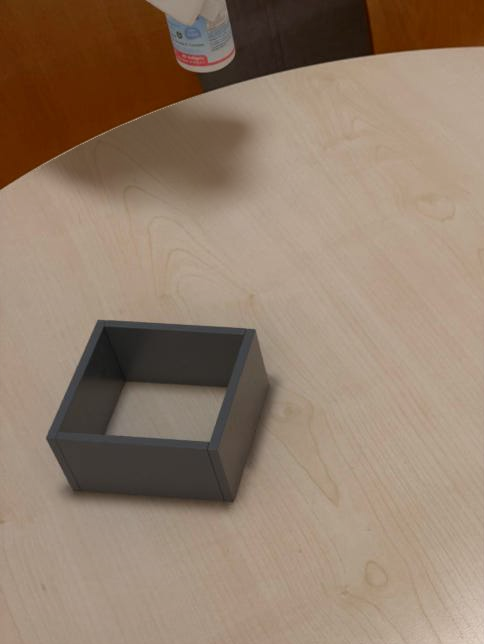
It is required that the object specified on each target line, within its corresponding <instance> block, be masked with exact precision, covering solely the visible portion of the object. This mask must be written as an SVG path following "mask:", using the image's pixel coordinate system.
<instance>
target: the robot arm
mask: <svg viewBox="0 0 484 644" xmlns="http://www.w3.org/2000/svg"><path fill="white" fill-rule="evenodd" d="M145 1H146V2H148V3H149V4H150V5H152V6H154V7H155V8H156V9H158V10H159V11H161V12H162V13H164V14H165V13H166V14H167V15H169V16H170V17H172V18H173V19H175V20H177V21H178V22H180V23H182V24H184V25H187V26H191V25H193V23H194V22H195V20H196V18H197V16H198V15H201V16H202V17H204V18H206V19H207V20H209V21H210V22H213V21H215V20H216V18H217V16H218V14H219V12H220V10H221V6H220V4H219V3H218V2H217V1H216V0H145Z"/></svg>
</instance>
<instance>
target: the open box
mask: <svg viewBox="0 0 484 644" xmlns="http://www.w3.org/2000/svg"><path fill="white" fill-rule="evenodd" d="M266 370H267V369H266V366H265V362H264V358H263V354H262V351H261V346H260V342H259V338H258V333H257V329H255V328H247V327H232V326H231V327H230V326H216V325H200V324H199V325H198V324H181V323H167V322H166V323H164V322H148V321H133V320H132V321H131V320H116V319H115V320H114V319H97V320H96V323H95V325H94V327H93V328H92V331H91V334H90V336H89V338H88V341H87V343H86V346H85V347H84V350H83V352H82V355H81V357H80V359H79V362H78V363H77V365H76V368H75V371H74V372H73V375H72V377H71V379H70V382H69V384H68V386H67V388H66V391H65V393H64V395H63V397H62V400H61V402H60V405H59V407H58V409H57V411H56V414H55V416H54V418H53V420H52V423H51V425H50V427H49V429H48V432H47V434H46V436H45V440H46V442H47V444H48V445H49V448H50V449H51V451H52V454H53V455H54V457H55V459H56V461H57V464H58V465H59V468H60V469H61V471H62V473H63V474H64V477H65V479H66V480H67V482H68V485H69V486H70V488H71V490H72V491H73V492H82V493H83V492H85V493H96V494H98V493H99V494H111V495H125V496H126V495H127V496H140V497H155V498H167V499H168V498H169V499H182V500H196V501H208V502H209V501H210V502H226V503H234V502H235V501H236V498H237V494H238V491H239V487H240V484H241V481H242V477H243V474H244V471H245V468H246V465H247V461H248V457H249V454H250V451H251V447H252V444H253V441H254V436H255V433H256V430H257V426H258V423H259V421H260V417H261V413H262V410H263V407H264V403H265V400H266V396H267V393H268V390H269V388H270V387H269V386H270V383H269V378H268V374H267V371H266ZM126 382H134V383H135V382H136V383H149V384H151V383H152V384H164V385H165V384H167V385H181V386H198V387H211V388H226V390H225V393H224V396H223V400H222V403H221V406H220V409H219V413H218V415H217V419H216V422H215V425H214V428H213V431H212V434H211V436H210V439H209V441H204V440H202V441H201V440H200V441H199V440H189V439H174V438H173V439H172V438H160V437H159V438H158V437H143V436H130V435H129V436H127V435H114V434H106V432H107V429H108V427H109V424H110V422H111V420H112V417H113V415H114V411H115V409H116V406H117V405H118V402H119V400H120V397H121V394H122V393H123V389H124V386H125V384H126Z"/></svg>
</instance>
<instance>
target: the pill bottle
mask: <svg viewBox="0 0 484 644" xmlns="http://www.w3.org/2000/svg"><path fill="white" fill-rule="evenodd" d="M216 1H217V2H218V3H219V4H220V6H221V10H220V12H219V14H218V16H217V18H216V20H215V21H213V22H210V21H209V20H207V19H206V18H204V17H202V16H201V15H198V16H197V18H196V20H195V22H194V23H193V25H191V26H187V25H184V24H182V23H180V22H178V21H177V20H175V19H173V18H172V17H170V16H169V15H167V14H166V13H164V15H165V18H166V23H167V27H168V31H169V35H170V39H171V44H172V47H173V51H174V54H175V55H174V56H175V58H176V61H177V64H178V65H180V67H182V68H183V69H185V70H186V71H190V72H193V73H212V72H217V71H219V70H221V69H223V68H225V67H226V66H228V65H229V64H230V63H232V61H233V60H234V58H235V55H236V46H235V41H234V36H233V32H232V27H231V21H230V17H229V12H228V7H227V3H226V0H216Z"/></svg>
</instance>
